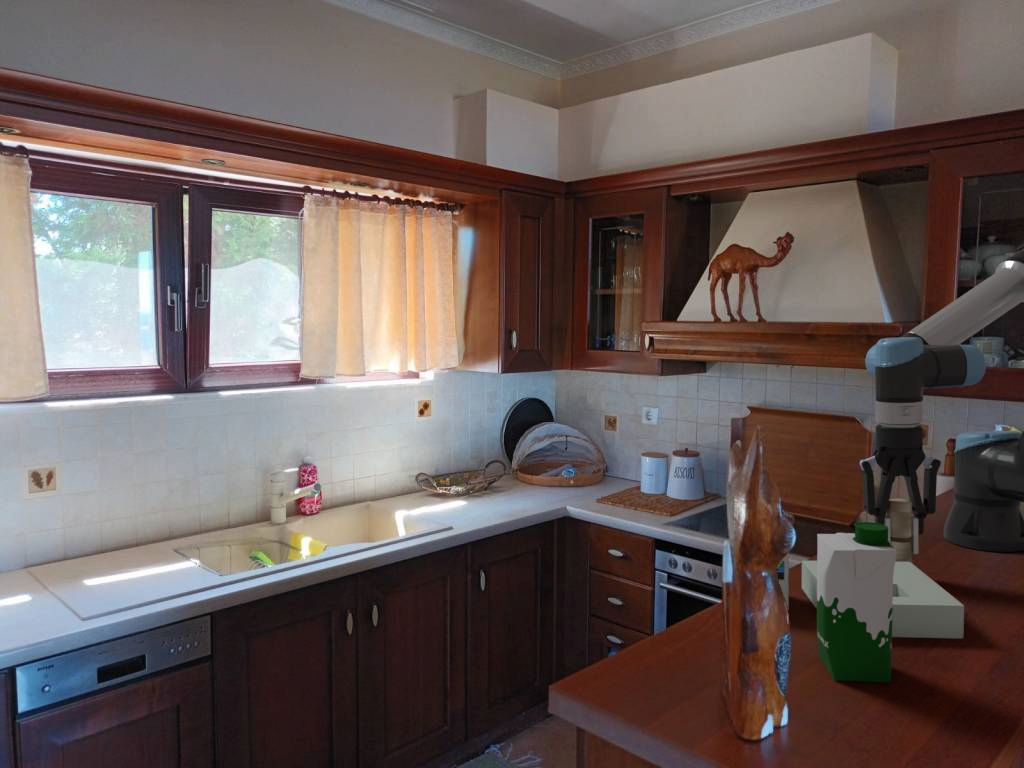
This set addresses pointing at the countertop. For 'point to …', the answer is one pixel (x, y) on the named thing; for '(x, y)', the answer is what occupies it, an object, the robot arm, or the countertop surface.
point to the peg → (901, 528)
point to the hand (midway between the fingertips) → (899, 551)
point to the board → (910, 603)
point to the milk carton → (856, 603)
